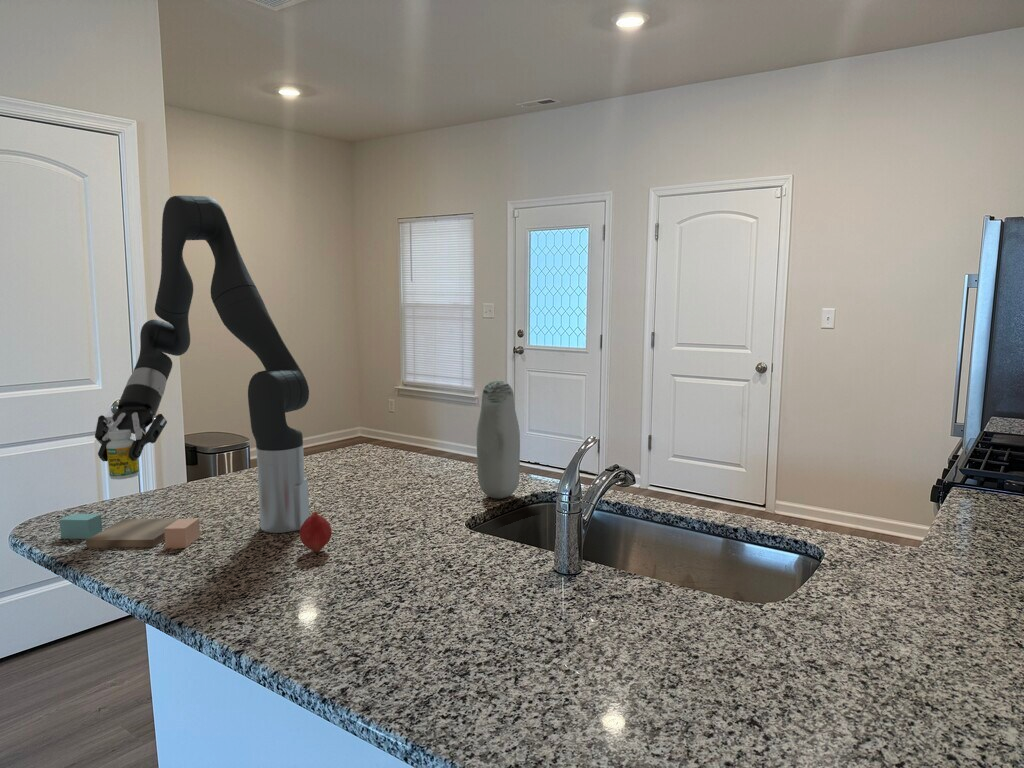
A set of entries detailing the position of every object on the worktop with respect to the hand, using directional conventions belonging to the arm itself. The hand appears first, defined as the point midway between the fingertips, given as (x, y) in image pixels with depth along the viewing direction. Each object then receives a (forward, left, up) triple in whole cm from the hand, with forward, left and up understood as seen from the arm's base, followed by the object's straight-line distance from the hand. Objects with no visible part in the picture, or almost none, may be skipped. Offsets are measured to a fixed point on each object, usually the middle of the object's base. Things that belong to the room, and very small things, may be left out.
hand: (117, 458), depth 140 cm
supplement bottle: (0, -2, -4) cm, 5 cm away
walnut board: (-4, +2, -16) cm, 16 cm away
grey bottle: (-77, -23, -16) cm, 82 cm away
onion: (-43, +12, -16) cm, 48 cm away
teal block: (+8, +1, -16) cm, 18 cm away
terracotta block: (-15, +6, -16) cm, 23 cm away
